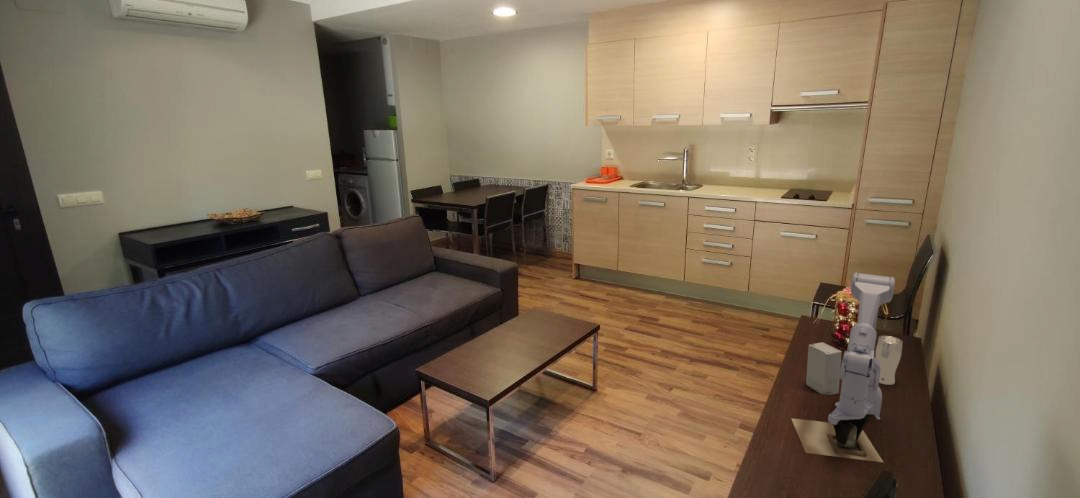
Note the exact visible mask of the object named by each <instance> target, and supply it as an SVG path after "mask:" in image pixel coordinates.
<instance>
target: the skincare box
mask: <svg viewBox="0 0 1080 498" xmlns="http://www.w3.org/2000/svg"><path fill="white" fill-rule="evenodd" d="M807 349H808V352H807V365H806V383H805V385H807V387H809V388H811V389H812V390H814V391H816V392H817V393H819V394H821V395H828V396H829V395H830V396H831V395H838V394H839V393H840V381H841V379H840V370H841V364H842V352H843V351H841V350H839V349H837V348H836V347H833V346H831V345H829V344H827V343H825V342H817V343H815V342H814V343H812V344H811V343H810V344H809V345H808V348H807Z"/></svg>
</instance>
